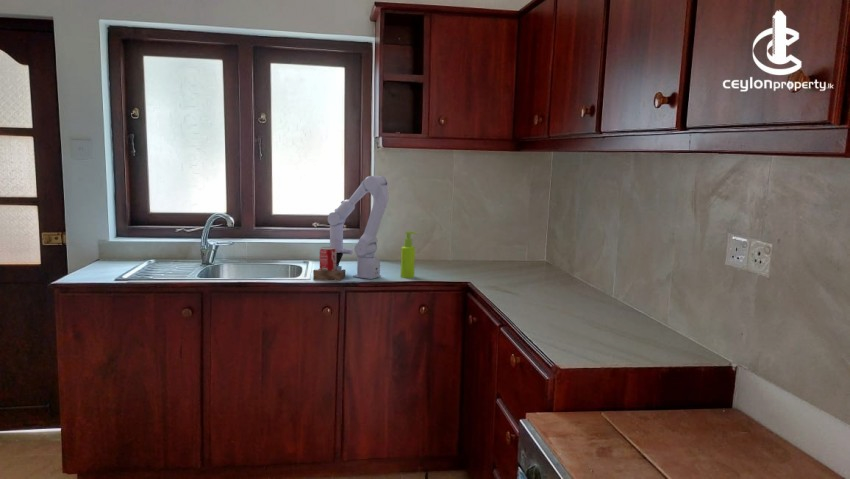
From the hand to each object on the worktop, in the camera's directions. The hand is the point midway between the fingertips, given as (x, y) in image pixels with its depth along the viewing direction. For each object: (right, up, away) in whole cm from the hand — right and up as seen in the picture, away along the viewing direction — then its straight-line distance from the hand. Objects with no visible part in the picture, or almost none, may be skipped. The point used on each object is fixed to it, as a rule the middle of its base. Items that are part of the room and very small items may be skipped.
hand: (335, 269), depth 262 cm
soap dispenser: (+33, -3, -4) cm, 33 cm away
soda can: (-2, -3, -11) cm, 12 cm away
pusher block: (-1, -2, -4) cm, 5 cm away
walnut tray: (-1, -3, -11) cm, 11 cm away
